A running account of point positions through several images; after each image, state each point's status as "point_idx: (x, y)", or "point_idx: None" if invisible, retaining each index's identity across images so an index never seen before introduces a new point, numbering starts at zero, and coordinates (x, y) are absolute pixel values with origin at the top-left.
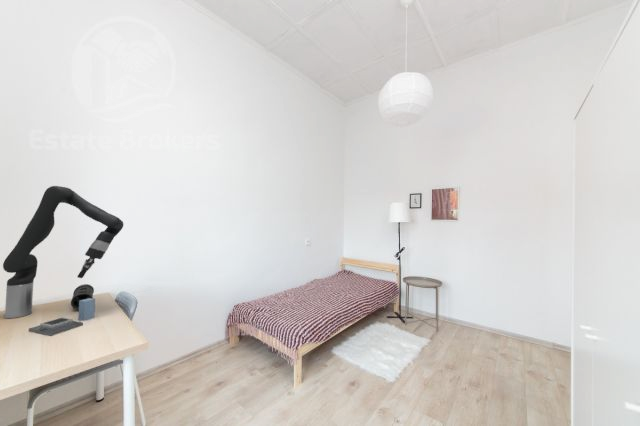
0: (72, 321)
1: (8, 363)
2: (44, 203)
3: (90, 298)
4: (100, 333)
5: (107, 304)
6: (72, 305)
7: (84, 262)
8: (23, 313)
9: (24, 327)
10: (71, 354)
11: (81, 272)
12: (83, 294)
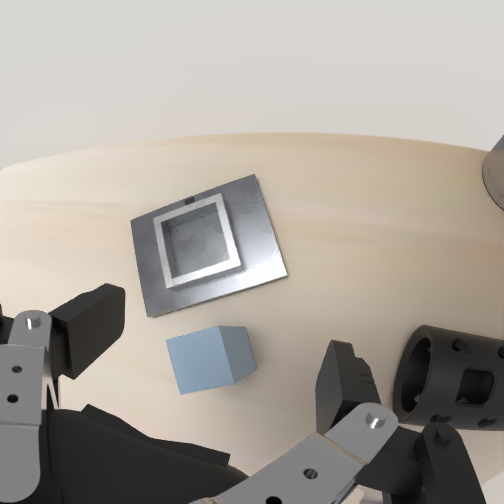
0: (171, 288)
1: (59, 157)
2: None
3: (218, 384)
4: None
5: None
6: (416, 332)
7: (206, 498)
8: (491, 183)
9: (323, 172)
10: (6, 242)
11: (55, 311)
12: (425, 387)
